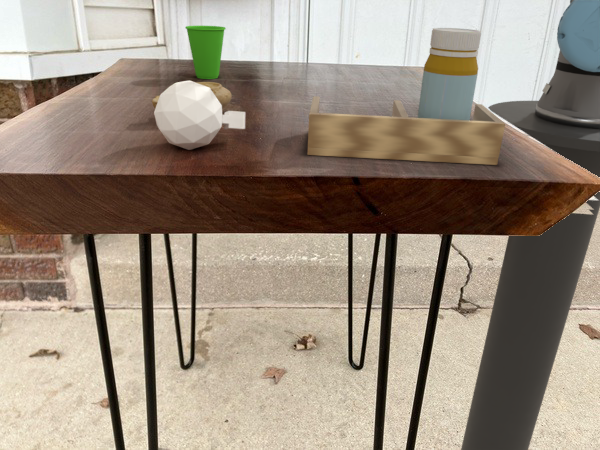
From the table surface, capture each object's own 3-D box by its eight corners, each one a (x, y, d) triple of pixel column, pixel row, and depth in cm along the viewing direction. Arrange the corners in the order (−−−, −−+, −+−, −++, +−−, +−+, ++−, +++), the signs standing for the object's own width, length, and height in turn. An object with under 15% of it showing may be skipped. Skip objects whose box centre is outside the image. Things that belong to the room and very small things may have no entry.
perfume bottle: (159, 147, 65) (252, 151, 70) (159, 71, 64) (253, 80, 69) (148, 149, 73) (233, 153, 77) (149, 81, 72) (234, 90, 77)
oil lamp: (149, 125, 82) (146, 92, 79) (179, 106, 94) (177, 77, 92) (216, 129, 81) (215, 96, 78) (237, 109, 94) (236, 80, 91)
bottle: (465, 139, 77) (484, 29, 70) (464, 152, 71) (484, 33, 64) (417, 133, 78) (431, 26, 72) (411, 146, 72) (426, 30, 66)
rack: (475, 140, 80) (482, 104, 78) (497, 165, 69) (505, 123, 67) (311, 132, 81) (313, 96, 79) (307, 155, 70) (309, 114, 68)
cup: (229, 80, 120) (228, 29, 116) (189, 80, 118) (186, 28, 114) (224, 74, 128) (223, 25, 124) (186, 74, 126) (183, 25, 121)
